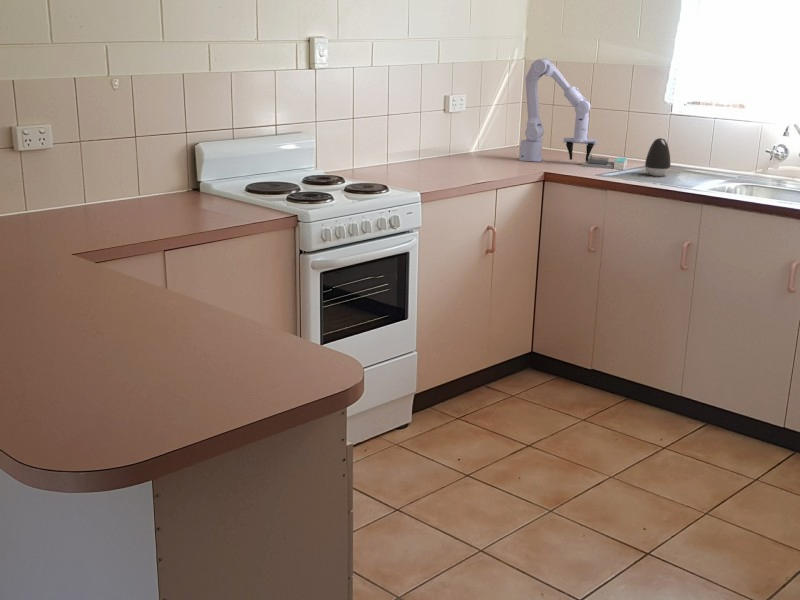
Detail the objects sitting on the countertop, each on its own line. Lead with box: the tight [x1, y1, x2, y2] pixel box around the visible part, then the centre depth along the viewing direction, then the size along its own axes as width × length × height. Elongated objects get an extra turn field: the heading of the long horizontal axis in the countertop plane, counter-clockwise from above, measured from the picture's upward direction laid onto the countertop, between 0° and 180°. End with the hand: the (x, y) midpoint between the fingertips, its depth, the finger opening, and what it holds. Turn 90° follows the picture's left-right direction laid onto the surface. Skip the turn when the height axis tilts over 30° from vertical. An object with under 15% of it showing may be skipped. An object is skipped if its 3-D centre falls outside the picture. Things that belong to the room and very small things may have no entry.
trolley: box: [587, 153, 610, 165], centre depth 405 cm, size 8×7×4 cm
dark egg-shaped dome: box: [644, 137, 672, 177], centre depth 383 cm, size 10×10×15 cm
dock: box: [581, 157, 628, 170], centre depth 404 cm, size 18×12×3 cm
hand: (578, 160), depth 408 cm, fingers open, 6 cm apart
